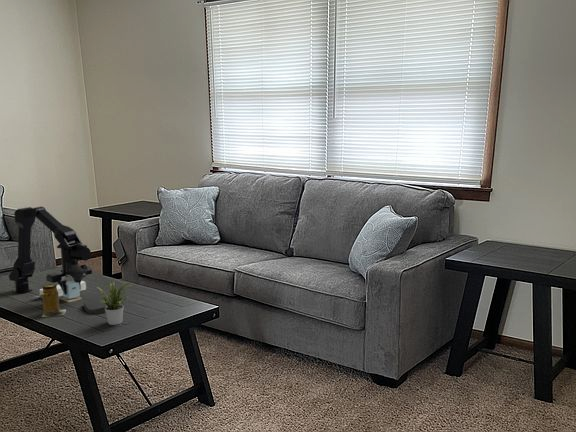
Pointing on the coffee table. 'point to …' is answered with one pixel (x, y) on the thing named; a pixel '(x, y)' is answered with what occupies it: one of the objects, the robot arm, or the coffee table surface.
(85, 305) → the media streaming box
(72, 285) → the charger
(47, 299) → the condiment
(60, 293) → the power strip
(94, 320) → the coffee table surface
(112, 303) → the house plant
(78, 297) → the board
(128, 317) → the coffee table surface
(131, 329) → the coffee table surface
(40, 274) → the coffee table surface
